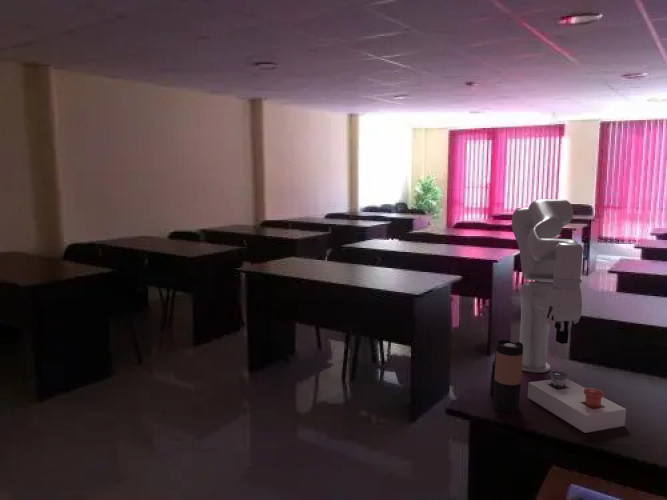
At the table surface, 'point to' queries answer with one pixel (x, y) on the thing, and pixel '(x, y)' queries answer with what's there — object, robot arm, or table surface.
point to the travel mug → (508, 375)
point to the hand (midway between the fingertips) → (561, 342)
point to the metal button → (558, 379)
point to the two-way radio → (493, 375)
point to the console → (576, 406)
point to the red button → (593, 397)
